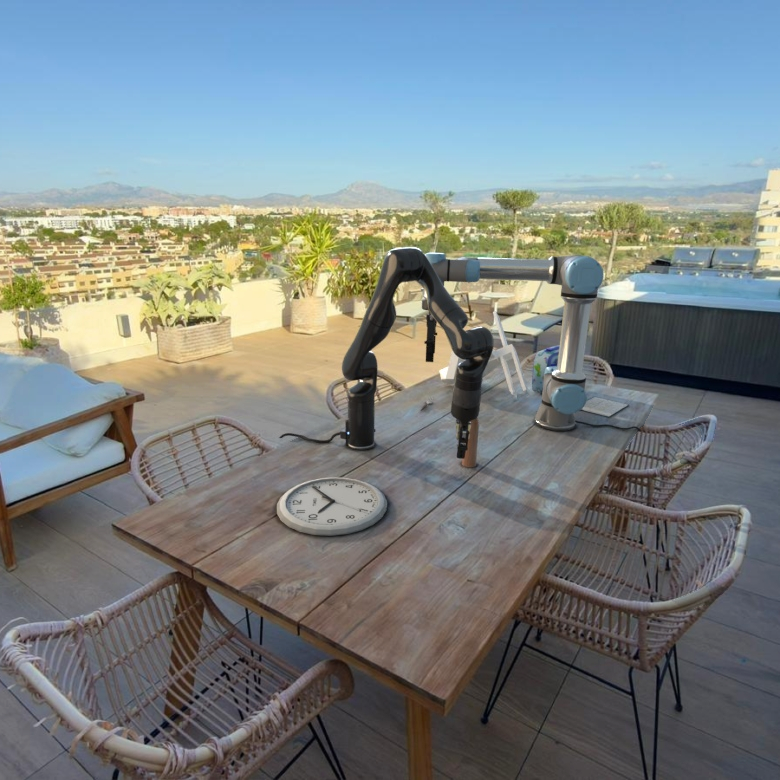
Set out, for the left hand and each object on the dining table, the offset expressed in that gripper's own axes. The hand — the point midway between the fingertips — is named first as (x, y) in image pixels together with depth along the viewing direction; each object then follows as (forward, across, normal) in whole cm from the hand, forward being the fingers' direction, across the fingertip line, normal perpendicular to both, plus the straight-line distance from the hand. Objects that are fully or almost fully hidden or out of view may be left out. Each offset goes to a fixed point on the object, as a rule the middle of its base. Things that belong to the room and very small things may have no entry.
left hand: (460, 448), depth 147 cm
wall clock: (+12, +15, -34) cm, 39 cm away
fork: (+31, -70, -11) cm, 77 cm away
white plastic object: (+35, -92, +13) cm, 100 cm away
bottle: (+18, -16, +5) cm, 24 cm away
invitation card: (+31, -80, +64) cm, 107 cm away
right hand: (-2, -50, -11) cm, 51 cm away
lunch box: (+36, -101, +48) cm, 117 cm away
